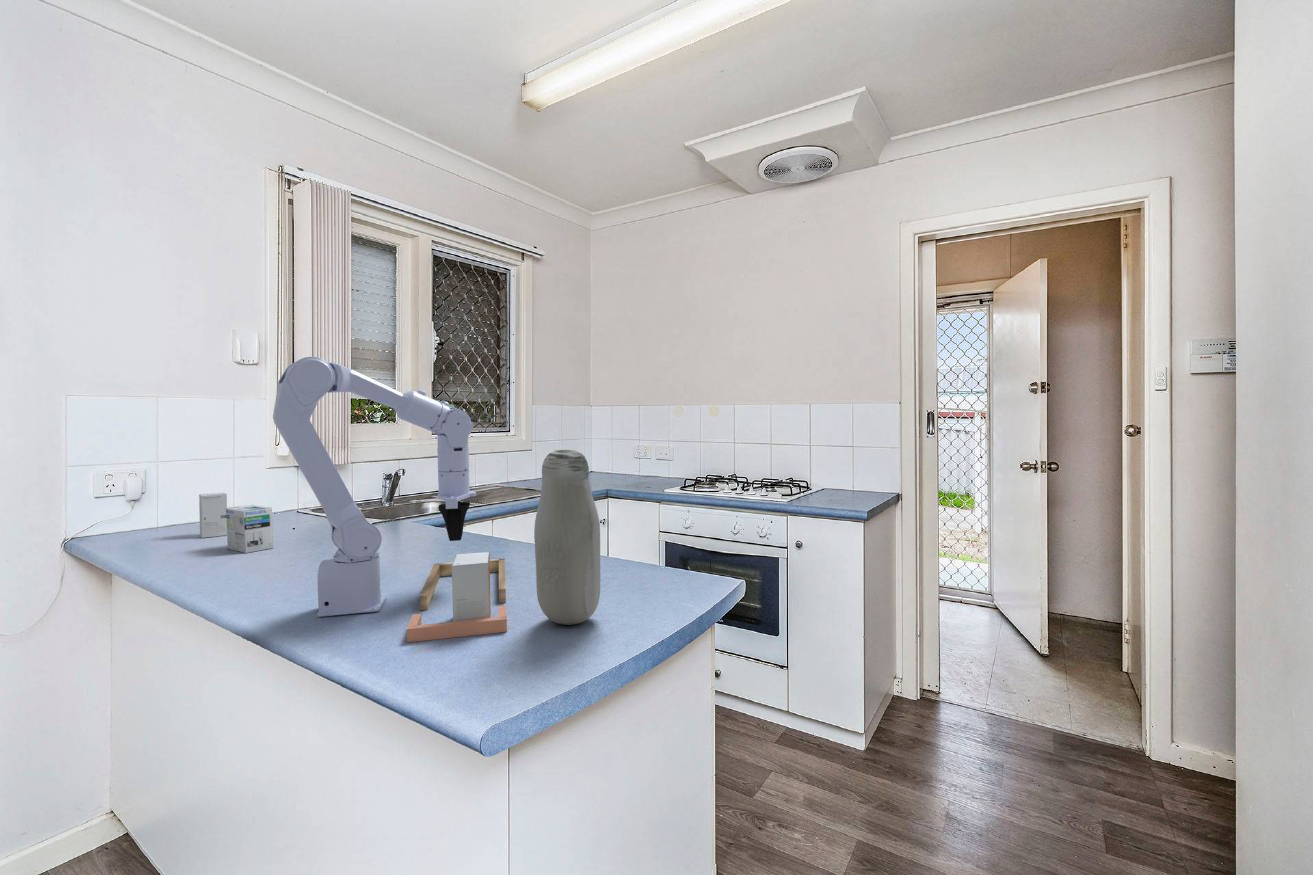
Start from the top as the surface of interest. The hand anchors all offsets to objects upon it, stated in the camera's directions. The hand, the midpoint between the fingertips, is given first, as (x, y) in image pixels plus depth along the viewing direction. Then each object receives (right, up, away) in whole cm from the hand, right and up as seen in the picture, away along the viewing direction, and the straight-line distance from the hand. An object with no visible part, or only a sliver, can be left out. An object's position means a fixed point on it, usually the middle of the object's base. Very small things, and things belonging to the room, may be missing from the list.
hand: (455, 540), depth 113 cm
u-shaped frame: (+2, -9, 0) cm, 10 cm away
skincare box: (-88, -8, +53) cm, 103 cm away
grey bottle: (+25, -10, -19) cm, 33 cm away
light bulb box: (-66, -9, +36) cm, 76 cm away
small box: (+9, -10, -18) cm, 23 cm away
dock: (+8, -10, -21) cm, 25 cm away
